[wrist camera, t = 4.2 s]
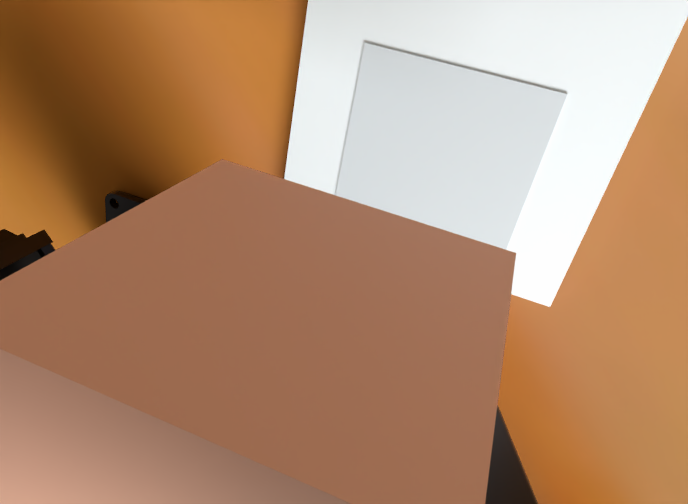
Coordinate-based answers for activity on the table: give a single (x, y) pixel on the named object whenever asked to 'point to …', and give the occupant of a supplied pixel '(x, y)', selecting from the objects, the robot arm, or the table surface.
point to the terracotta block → (253, 354)
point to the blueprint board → (478, 114)
